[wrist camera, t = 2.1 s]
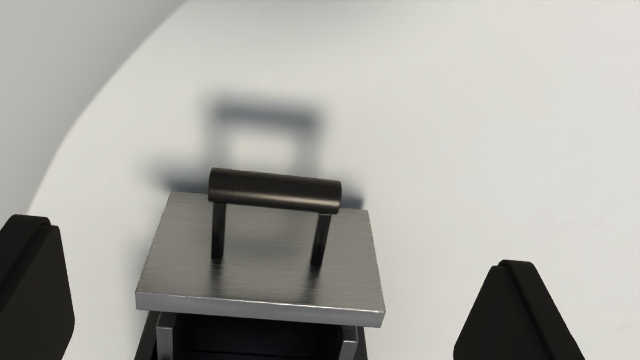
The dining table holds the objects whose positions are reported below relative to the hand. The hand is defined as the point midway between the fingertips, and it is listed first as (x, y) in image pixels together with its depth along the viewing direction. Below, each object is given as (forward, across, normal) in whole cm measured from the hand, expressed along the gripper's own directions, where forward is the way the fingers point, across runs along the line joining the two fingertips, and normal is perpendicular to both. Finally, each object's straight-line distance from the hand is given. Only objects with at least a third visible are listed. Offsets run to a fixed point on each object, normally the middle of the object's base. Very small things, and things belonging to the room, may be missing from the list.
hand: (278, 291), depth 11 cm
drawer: (+17, 0, +15) cm, 22 cm away
